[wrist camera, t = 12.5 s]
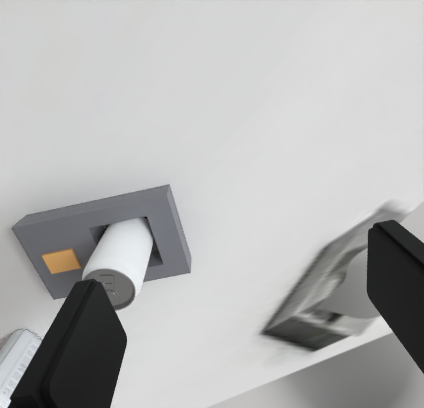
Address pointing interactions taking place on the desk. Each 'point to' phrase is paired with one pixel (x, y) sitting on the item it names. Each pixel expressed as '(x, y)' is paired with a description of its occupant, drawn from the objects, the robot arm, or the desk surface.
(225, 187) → the desk surface
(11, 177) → the desk surface
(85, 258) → the grey socket block
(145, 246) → the can
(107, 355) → the robot arm
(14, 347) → the photo printer
